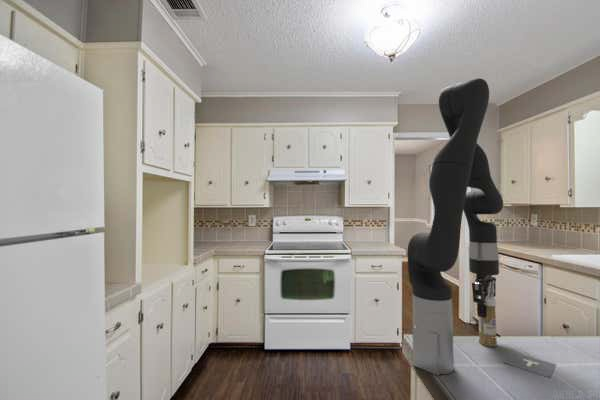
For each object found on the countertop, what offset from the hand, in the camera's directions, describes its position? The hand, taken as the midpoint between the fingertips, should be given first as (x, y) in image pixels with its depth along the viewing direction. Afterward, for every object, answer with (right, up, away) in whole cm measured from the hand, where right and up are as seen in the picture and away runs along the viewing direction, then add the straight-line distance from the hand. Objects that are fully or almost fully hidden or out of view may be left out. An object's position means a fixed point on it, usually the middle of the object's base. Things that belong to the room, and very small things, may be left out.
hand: (485, 314), depth 85 cm
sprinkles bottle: (0, -9, -1) cm, 9 cm away
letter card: (+4, -8, -12) cm, 15 cm away
